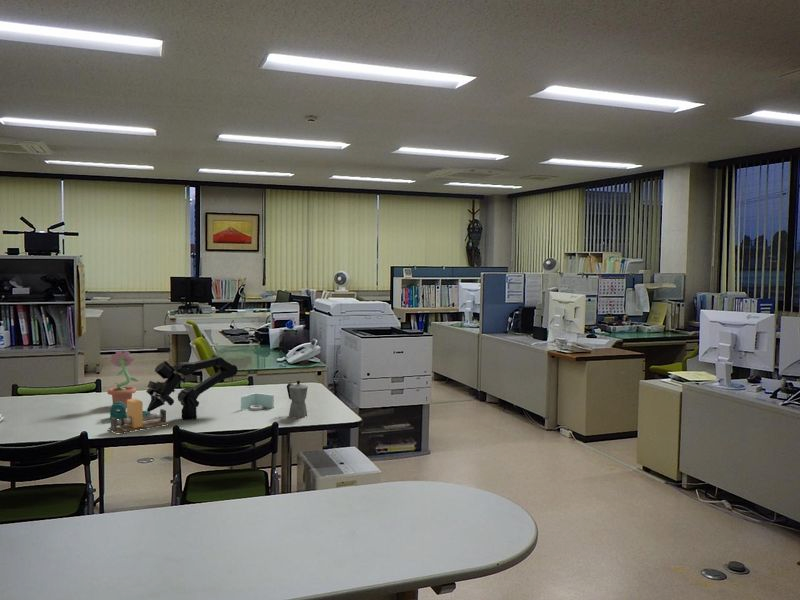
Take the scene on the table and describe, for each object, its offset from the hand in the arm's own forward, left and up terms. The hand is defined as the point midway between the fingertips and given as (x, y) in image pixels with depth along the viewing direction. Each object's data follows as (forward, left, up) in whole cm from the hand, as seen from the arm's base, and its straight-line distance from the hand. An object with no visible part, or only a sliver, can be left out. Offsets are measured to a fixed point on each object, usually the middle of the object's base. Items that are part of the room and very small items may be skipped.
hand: (147, 411), depth 294 cm
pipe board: (+4, +2, -7) cm, 8 cm away
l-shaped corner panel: (-51, -23, -8) cm, 57 cm away
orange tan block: (+5, +3, -6) cm, 8 cm away
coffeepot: (-70, -7, -7) cm, 71 cm away
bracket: (+10, -17, -8) cm, 21 cm away
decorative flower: (+17, -41, -7) cm, 44 cm away
